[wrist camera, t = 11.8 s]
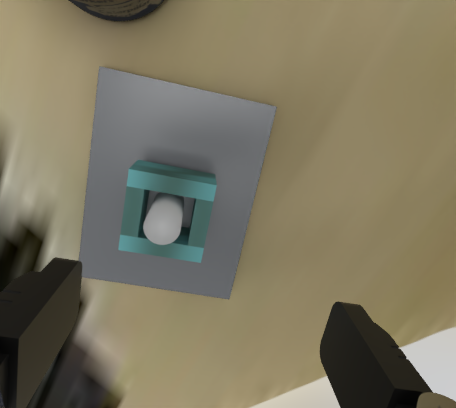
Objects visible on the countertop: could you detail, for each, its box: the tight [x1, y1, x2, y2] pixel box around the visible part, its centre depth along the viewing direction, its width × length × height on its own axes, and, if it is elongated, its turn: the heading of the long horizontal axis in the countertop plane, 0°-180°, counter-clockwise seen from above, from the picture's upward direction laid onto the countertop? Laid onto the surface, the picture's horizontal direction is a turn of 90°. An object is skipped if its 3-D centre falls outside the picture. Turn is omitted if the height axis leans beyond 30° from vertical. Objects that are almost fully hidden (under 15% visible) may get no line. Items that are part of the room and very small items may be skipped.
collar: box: [118, 160, 217, 263], centre depth 26 cm, size 6×6×4 cm
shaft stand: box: [79, 66, 277, 299], centre depth 27 cm, size 14×18×9 cm
